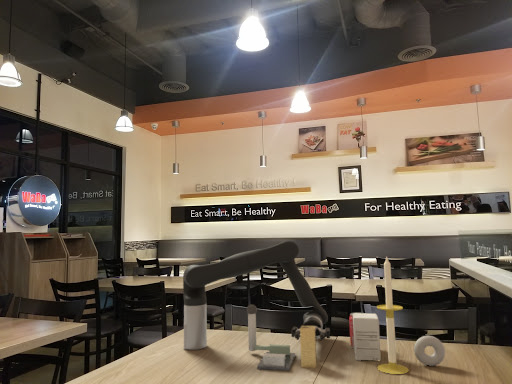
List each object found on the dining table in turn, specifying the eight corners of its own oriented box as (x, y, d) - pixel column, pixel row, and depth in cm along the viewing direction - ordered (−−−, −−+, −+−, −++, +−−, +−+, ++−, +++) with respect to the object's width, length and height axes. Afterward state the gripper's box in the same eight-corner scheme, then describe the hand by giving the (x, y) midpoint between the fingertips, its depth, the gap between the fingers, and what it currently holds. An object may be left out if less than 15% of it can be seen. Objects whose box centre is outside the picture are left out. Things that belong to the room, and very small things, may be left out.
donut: (416, 367, 132) (414, 336, 134) (413, 363, 136) (412, 334, 137) (447, 368, 131) (445, 337, 132) (444, 364, 134) (442, 334, 135)
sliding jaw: (248, 348, 153) (248, 303, 155) (291, 350, 150) (290, 304, 151) (245, 353, 148) (244, 306, 150) (289, 355, 144) (288, 307, 146)
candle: (394, 363, 137) (388, 254, 141) (415, 372, 128) (408, 255, 132) (371, 367, 133) (365, 255, 137) (390, 376, 124) (384, 257, 128)
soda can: (369, 350, 152) (368, 316, 153) (350, 349, 153) (349, 315, 155) (368, 345, 159) (366, 312, 160) (350, 344, 160) (348, 312, 162)
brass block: (302, 363, 139) (301, 325, 140) (316, 364, 138) (315, 325, 139) (301, 367, 135) (300, 328, 136) (316, 367, 134) (314, 328, 135)
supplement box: (354, 353, 149) (352, 312, 151) (378, 354, 147) (376, 313, 149) (355, 360, 140) (353, 317, 142) (381, 361, 139) (378, 318, 140)
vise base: (266, 354, 150) (266, 343, 150) (295, 355, 147) (295, 344, 148) (257, 369, 133) (257, 356, 134) (289, 371, 131) (289, 357, 132)
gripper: (294, 316, 158) (289, 326, 143) (330, 317, 155) (329, 327, 140) (295, 335, 158) (289, 347, 142) (331, 337, 155) (329, 349, 139)
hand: (309, 337), depth 141 cm, fingers open, 8 cm apart
